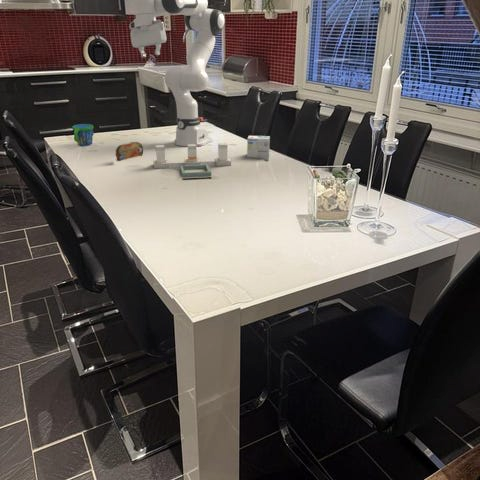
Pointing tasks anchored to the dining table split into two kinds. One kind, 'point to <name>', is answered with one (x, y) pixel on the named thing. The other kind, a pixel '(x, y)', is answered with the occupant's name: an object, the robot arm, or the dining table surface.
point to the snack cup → (83, 134)
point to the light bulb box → (258, 147)
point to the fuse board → (191, 163)
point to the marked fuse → (192, 153)
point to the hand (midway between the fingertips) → (150, 56)
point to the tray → (190, 174)
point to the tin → (129, 150)
